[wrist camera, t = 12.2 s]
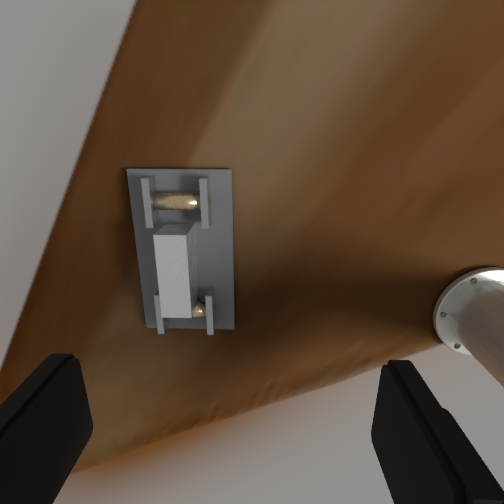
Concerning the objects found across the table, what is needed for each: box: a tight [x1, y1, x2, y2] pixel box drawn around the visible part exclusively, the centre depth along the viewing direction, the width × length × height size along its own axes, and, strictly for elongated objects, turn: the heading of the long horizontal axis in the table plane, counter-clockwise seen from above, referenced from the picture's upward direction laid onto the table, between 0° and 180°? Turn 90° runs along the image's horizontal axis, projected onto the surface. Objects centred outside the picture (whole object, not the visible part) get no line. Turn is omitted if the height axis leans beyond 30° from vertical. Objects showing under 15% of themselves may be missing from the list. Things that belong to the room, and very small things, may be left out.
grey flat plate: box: [127, 169, 235, 329], centre depth 41 cm, size 12×21×1 cm, turn 0°
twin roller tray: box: [141, 176, 216, 335], centre depth 39 cm, size 7×20×2 cm, turn 0°
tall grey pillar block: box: [153, 223, 199, 318], centre depth 38 cm, size 4×10×5 cm, turn 0°
